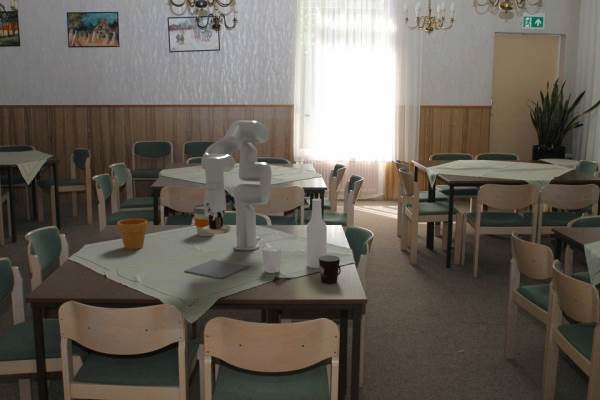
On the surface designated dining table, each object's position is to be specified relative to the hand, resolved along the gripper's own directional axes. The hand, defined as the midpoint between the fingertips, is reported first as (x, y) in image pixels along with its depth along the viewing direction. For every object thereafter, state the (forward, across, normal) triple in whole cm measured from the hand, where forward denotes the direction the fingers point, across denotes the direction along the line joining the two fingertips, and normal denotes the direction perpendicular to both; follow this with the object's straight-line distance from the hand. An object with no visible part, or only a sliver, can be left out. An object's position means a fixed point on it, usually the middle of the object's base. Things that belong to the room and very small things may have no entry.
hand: (216, 227), depth 267 cm
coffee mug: (+19, -8, +51) cm, 55 cm away
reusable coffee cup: (+19, -48, -45) cm, 68 cm away
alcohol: (+19, -26, +35) cm, 47 cm away
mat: (+19, 0, 0) cm, 19 cm away
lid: (+1, 0, 0) cm, 1 cm away
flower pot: (+19, -9, -59) cm, 63 cm away
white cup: (+19, -10, +22) cm, 31 cm away
